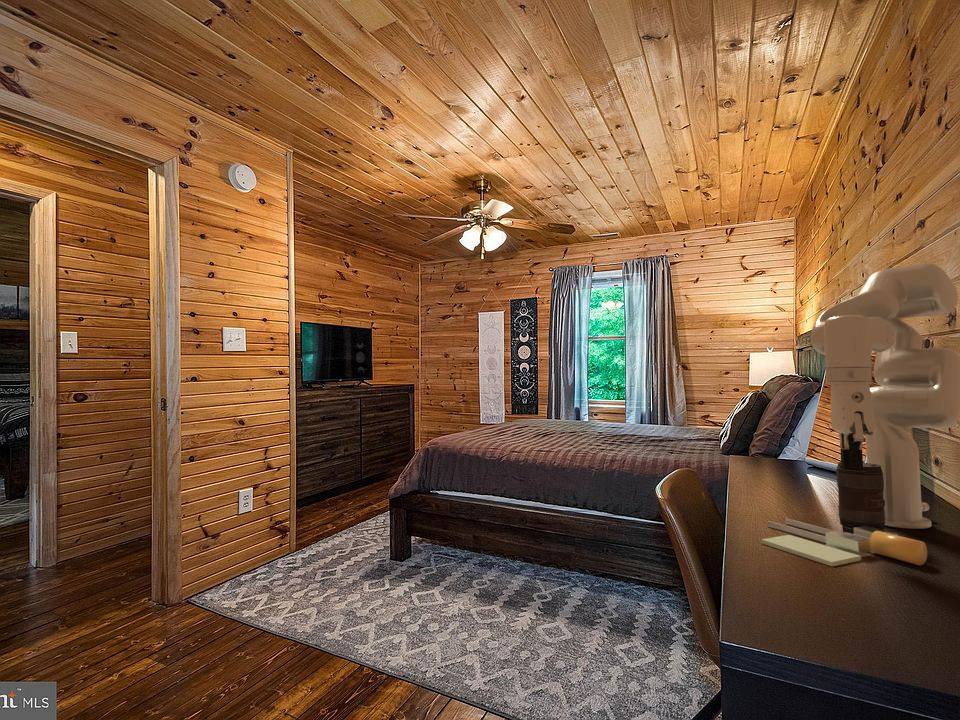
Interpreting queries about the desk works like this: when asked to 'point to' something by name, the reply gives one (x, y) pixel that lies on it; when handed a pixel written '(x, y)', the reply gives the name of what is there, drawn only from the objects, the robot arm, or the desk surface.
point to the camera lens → (861, 497)
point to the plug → (898, 547)
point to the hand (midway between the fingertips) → (852, 469)
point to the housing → (833, 536)
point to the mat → (811, 550)
